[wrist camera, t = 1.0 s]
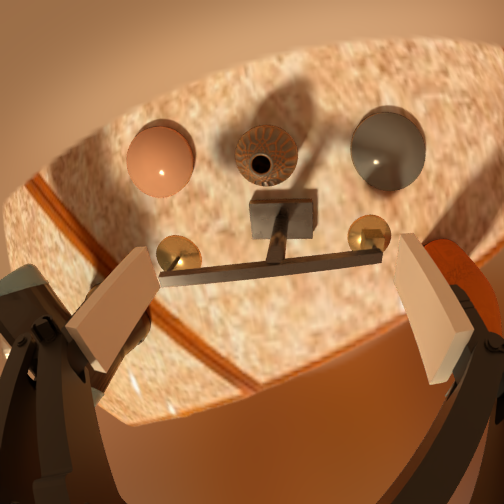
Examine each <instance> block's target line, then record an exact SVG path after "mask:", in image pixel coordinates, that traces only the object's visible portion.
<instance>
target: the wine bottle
mask: <svg viewBox="0 0 504 504" xmlns="http://www.w3.org/2000/svg"><path fill="white" fill-rule="evenodd" d="M424 248H425V250H426V251H427V252H428V254H429V255H430V257H431V258H432V260H433V261H434V263H435V264H436V266H437V267H438V269H439V270H440V272H441V273H442V275H443V276H444V278H445V279H446V281H447V283H448V284H449V285H454V284H457V285H458V286H459V287H461V288H462V289H463V290H464V291H465V292H466V294H467V295H468V297H469V298H470V301H471V302H472V303H473V305H474V308H476V310H477V311H478V313H479V315H480V317H481V318H482V320H483V322H484V324H485V325H486V327H487V329H488V331H489V332H494V333H497V334H498V335H500V336H501V337H502V326H501V316H500V311H499V306H498V302H497V299H496V296H495V293H494V291H493V289H492V287H491V285H490V283H489V282H488V280H487V279H486V277H485V276H484V275H483V273H482V272H481V271H480V269H479V268H478V267H477V266H476V265H475V263H474V262H473V261H472V260H471V259H470V258H469V256H468V255H467V254H466V253H465V252H464V251H463V250H462V249H461V248H460V247H459V246H458V245H457V244H456V243H454V242H453V241H451V240H448V239H438V240H434V241H432V242H430V243H428V244H427V245H425V246H424Z"/></svg>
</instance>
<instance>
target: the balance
mask: <svg viewBox="0 0 504 504" xmlns="http://www.w3.org/2000/svg"><path fill="white" fill-rule="evenodd" d="M249 211H250V220H251V230H252V239H270V244H269V249H268V253H267V258H266V261H260V262H251V263H242V264H232V265H223V266H213V267H204V268H200V267H201V264H202V256H201V253H200V251H199V249H198V247H197V246H196V245H195V244H194V243H193V242H192V241H191V240H189V239H187V238H185V237H183V236H179V235H172V236H168V237H166V238H165V239H163V240H162V241H161V243H160V244H159V245H158V247H157V251H156V257H157V260H158V263H159V265H160V266H161V268H162V269H163V270H164V272H160V274H159V277H158V278H159V281H160V285H161V288H164V287H176V286H187V285H198V284H208V283H218V282H228V281H238V280H248V279H257V278H266V277H275V276H284V275H292V274H301V273H309V272H317V271H325V270H333V269H340V268H348V267H356V266H363V265H370V264H377V263H382V256H383V252H384V251H385V250H386V248H387V247H388V245H389V243H390V240H391V231H390V228H389V226H388V224H387V223H386V221H385V220H384V219H382V218H381V217H379V216H376V215H365V216H362V217H360V218H358V219H357V220H355V221H354V222H353V223H352V225H351V226H350V228H349V231H348V243H349V246H350V248H351V250H352V251H348V252H340V253H331V254H323V255H314V256H305V257H296V258H287V259H285V251H286V242H287V239H313V203H312V199H271V200H251V201H250V203H249Z"/></svg>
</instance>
